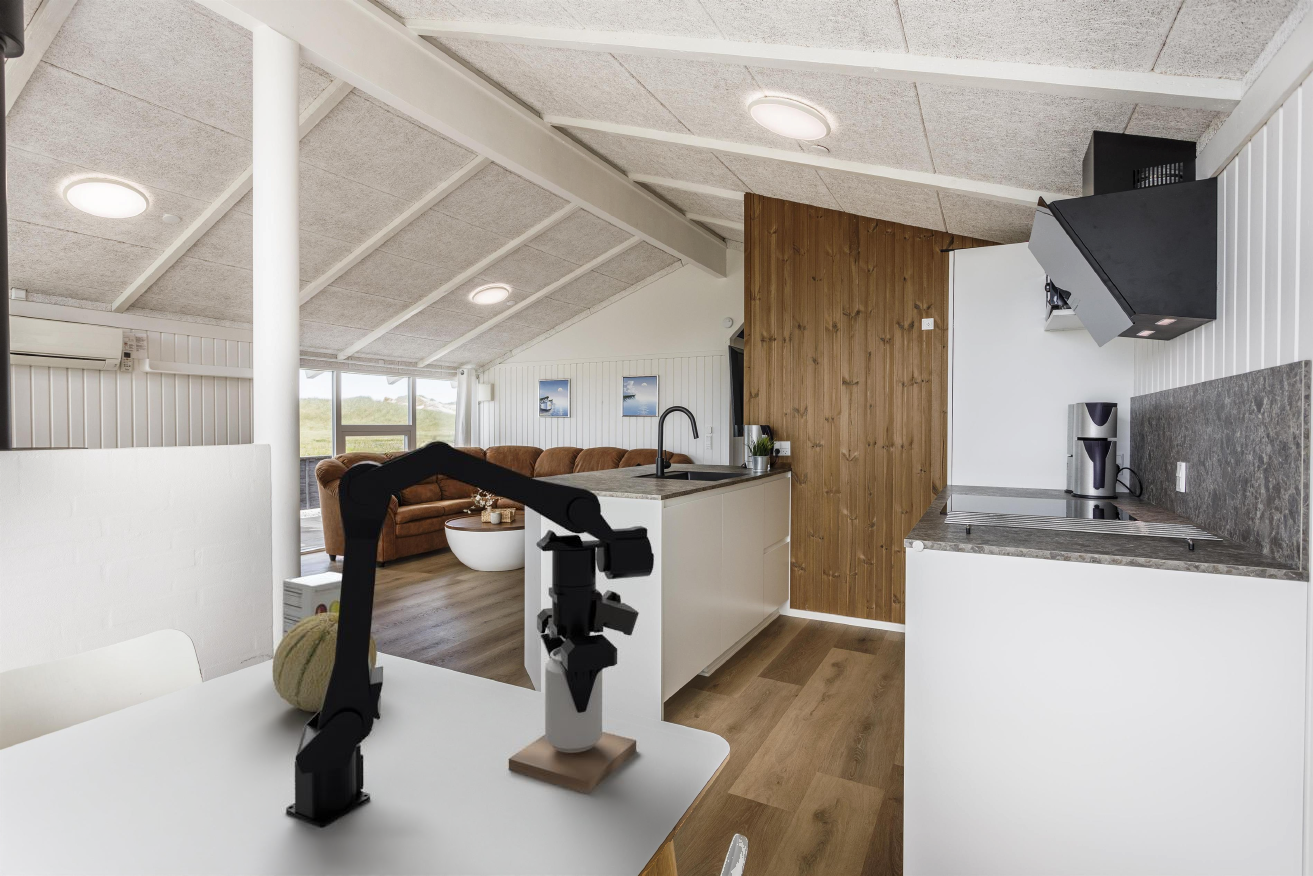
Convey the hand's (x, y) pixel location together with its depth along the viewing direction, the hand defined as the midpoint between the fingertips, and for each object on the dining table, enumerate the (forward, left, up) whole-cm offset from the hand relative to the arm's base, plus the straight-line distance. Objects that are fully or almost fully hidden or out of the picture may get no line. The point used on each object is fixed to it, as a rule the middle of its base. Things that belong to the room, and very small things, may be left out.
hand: (573, 700), depth 87 cm
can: (0, 0, -6) cm, 6 cm away
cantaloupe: (-4, +44, -8) cm, 45 cm away
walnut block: (0, 0, -9) cm, 9 cm away
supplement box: (+6, +59, -8) cm, 60 cm away
